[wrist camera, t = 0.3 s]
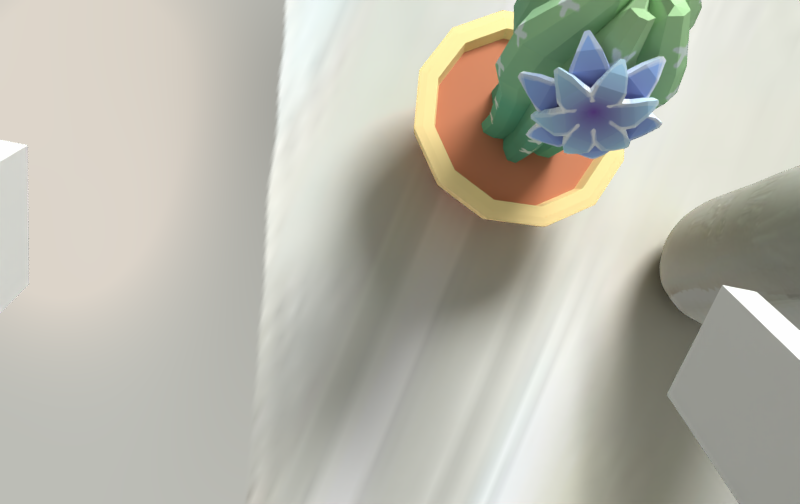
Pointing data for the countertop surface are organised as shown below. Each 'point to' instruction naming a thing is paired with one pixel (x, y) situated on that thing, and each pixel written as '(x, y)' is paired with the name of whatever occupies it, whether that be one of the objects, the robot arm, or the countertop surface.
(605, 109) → the potted cactus
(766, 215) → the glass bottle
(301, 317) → the countertop surface
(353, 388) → the countertop surface
